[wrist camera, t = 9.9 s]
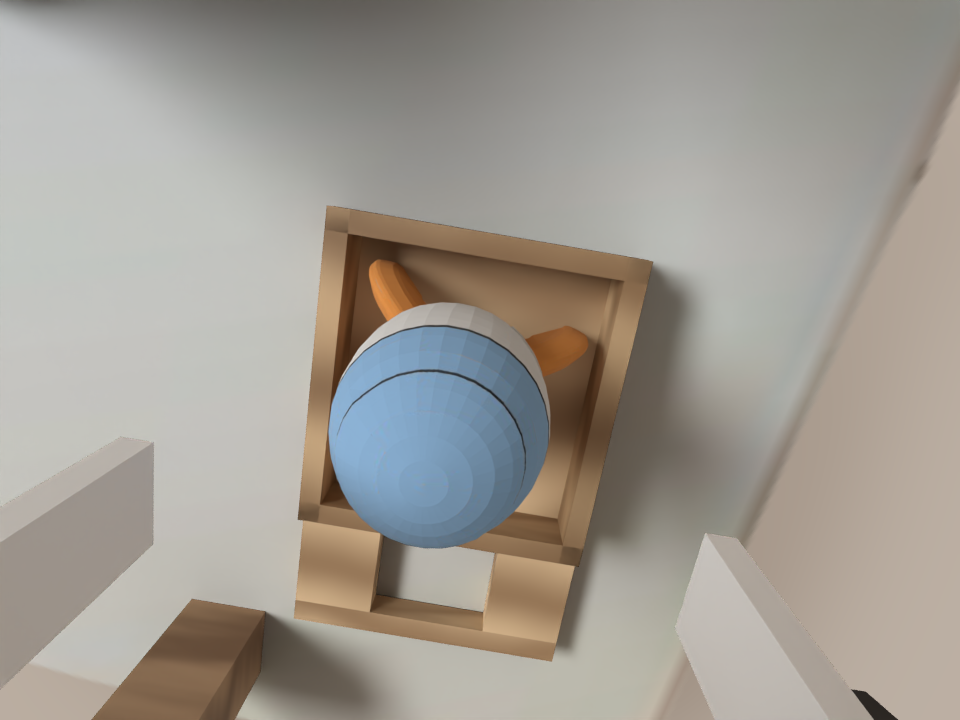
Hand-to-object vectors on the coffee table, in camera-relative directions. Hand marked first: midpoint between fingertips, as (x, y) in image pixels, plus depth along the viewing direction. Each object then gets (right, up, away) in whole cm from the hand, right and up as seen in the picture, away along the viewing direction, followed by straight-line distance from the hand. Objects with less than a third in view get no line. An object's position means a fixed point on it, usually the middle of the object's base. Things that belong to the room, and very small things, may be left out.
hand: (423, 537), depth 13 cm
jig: (0, 0, +16) cm, 16 cm away
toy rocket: (0, +4, +14) cm, 15 cm away
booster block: (-14, -13, +20) cm, 28 cm away
